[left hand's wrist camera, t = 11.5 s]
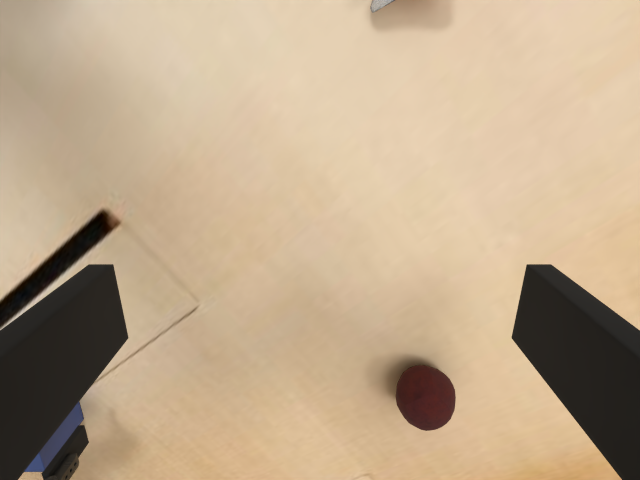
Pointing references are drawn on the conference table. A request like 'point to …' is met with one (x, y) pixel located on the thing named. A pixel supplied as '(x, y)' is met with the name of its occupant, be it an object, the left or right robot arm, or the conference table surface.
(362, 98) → the conference table surface
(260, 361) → the conference table surface
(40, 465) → the brick
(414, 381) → the dark red ball
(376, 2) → the fish
